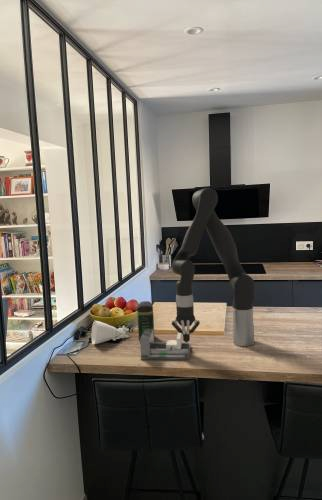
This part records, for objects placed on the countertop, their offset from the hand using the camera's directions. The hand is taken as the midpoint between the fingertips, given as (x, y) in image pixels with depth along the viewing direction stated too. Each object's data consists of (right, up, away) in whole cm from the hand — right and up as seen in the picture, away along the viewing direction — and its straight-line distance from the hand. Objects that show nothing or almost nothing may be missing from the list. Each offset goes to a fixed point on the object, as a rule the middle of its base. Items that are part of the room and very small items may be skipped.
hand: (186, 341), depth 166 cm
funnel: (-36, -5, +20) cm, 42 cm away
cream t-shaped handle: (-5, -4, +1) cm, 7 cm away
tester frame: (-9, -6, +2) cm, 11 cm away
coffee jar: (-18, -4, +21) cm, 28 cm away
